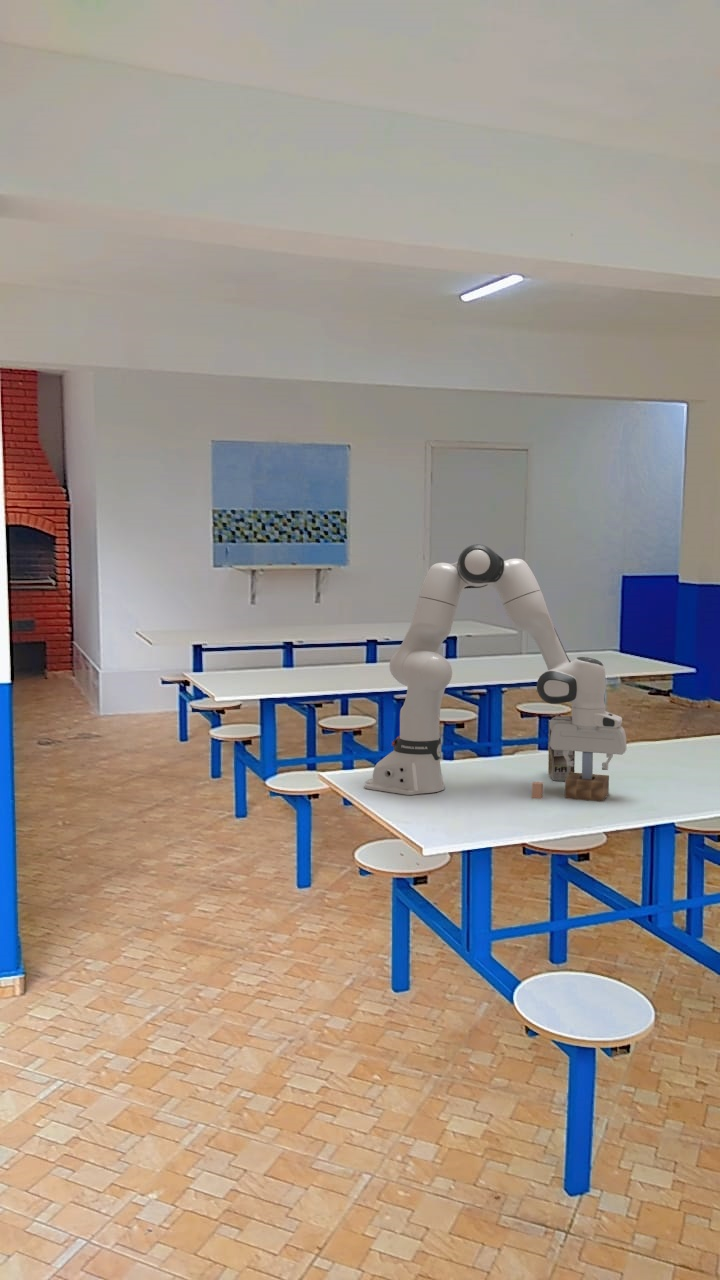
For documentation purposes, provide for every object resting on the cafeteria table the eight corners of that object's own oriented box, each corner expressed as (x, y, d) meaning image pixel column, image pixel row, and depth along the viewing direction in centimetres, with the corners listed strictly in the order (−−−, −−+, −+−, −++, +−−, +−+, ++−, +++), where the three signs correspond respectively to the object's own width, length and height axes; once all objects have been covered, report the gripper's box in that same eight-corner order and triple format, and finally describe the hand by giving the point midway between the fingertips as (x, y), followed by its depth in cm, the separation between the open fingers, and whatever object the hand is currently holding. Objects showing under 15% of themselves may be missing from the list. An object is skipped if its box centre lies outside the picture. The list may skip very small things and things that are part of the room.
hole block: (564, 798, 270) (565, 779, 270) (571, 790, 280) (572, 772, 279) (602, 801, 267) (603, 783, 266) (608, 793, 276) (608, 775, 275)
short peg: (532, 798, 271) (532, 783, 270) (534, 796, 273) (534, 781, 272) (540, 798, 270) (541, 784, 269) (542, 797, 272) (543, 782, 272)
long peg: (581, 796, 273) (582, 752, 272) (583, 794, 275) (584, 750, 274) (590, 797, 272) (591, 753, 271) (592, 795, 274) (592, 751, 273)
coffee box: (575, 781, 291) (576, 726, 290) (552, 781, 291) (553, 725, 290) (569, 774, 300) (570, 720, 299) (547, 774, 300) (548, 720, 299)
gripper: (547, 716, 272) (546, 767, 274) (624, 721, 265) (623, 773, 266) (552, 713, 278) (551, 762, 279) (628, 718, 270) (627, 768, 272)
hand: (587, 768), depth 272 cm, fingers open, 8 cm apart
